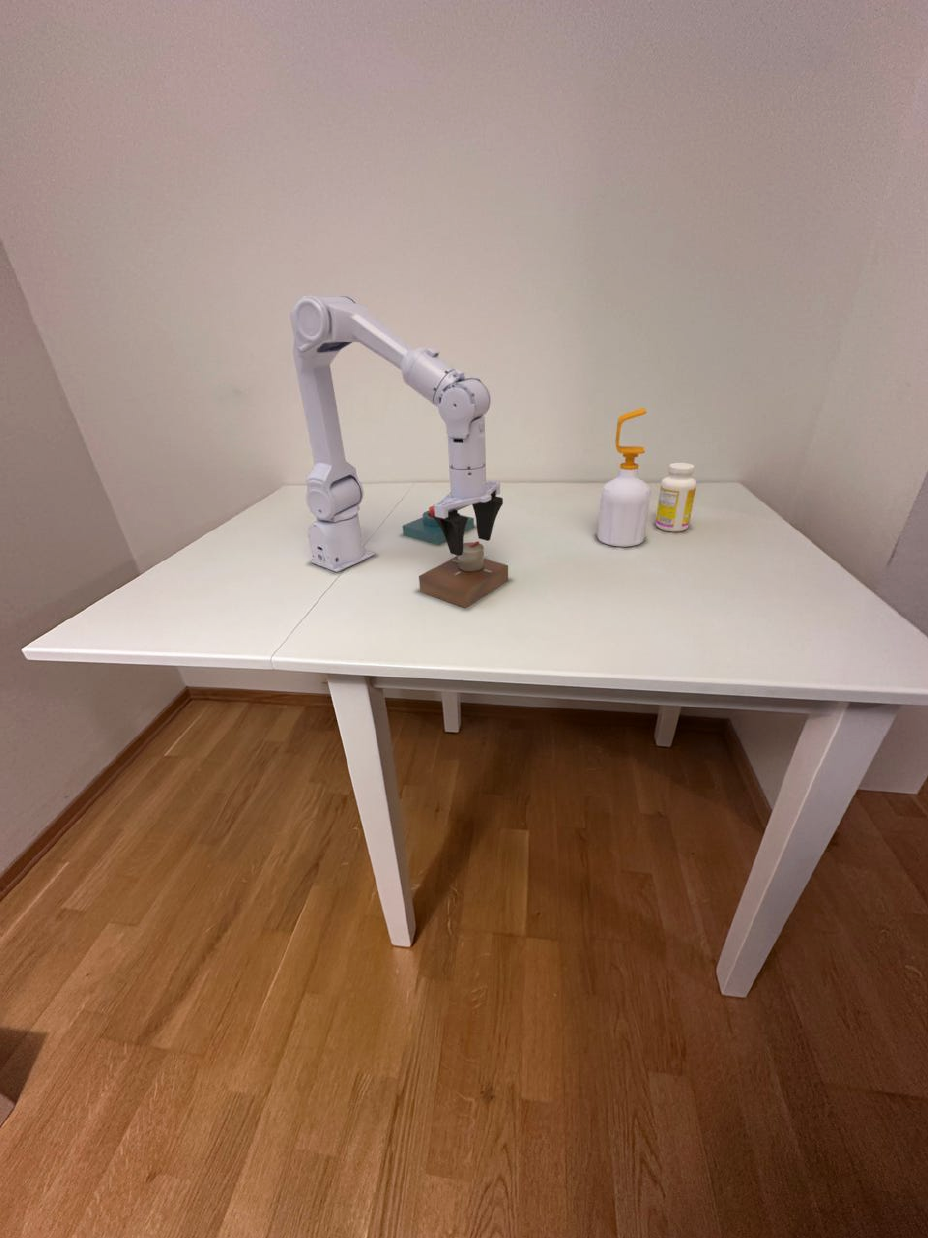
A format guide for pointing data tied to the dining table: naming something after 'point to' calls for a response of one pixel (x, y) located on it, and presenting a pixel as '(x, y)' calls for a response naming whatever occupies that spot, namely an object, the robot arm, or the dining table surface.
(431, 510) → the button
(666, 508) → the supplement bottle
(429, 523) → the button console
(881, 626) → the dining table surface
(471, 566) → the knob
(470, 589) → the knob panel
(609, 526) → the soap bottle
